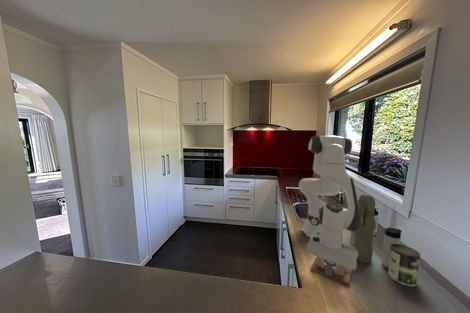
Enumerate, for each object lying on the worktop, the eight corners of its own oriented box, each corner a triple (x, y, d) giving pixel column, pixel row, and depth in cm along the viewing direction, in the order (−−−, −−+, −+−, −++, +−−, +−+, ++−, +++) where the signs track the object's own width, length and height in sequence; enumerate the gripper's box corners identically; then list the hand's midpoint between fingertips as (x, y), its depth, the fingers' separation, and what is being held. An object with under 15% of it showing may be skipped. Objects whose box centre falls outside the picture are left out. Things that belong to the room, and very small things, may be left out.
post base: (318, 255, 103) (320, 235, 102) (352, 268, 93) (354, 246, 93) (310, 270, 91) (312, 247, 90) (348, 286, 81) (350, 261, 80)
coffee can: (420, 282, 85) (424, 252, 84) (411, 289, 80) (414, 258, 79) (393, 268, 94) (396, 241, 93) (383, 274, 89) (386, 246, 88)
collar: (323, 255, 99) (323, 246, 99) (346, 264, 93) (347, 254, 92) (315, 269, 88) (316, 259, 87) (341, 281, 81) (342, 270, 81)
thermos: (349, 259, 101) (355, 196, 98) (354, 250, 109) (359, 192, 107) (369, 267, 95) (375, 200, 92) (373, 257, 103) (379, 195, 100)
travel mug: (401, 272, 92) (405, 232, 90) (386, 269, 93) (389, 231, 92) (393, 264, 98) (396, 227, 96) (379, 262, 99) (382, 225, 98)
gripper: (359, 245, 81) (356, 275, 82) (310, 230, 93) (309, 257, 94) (358, 252, 76) (355, 284, 77) (307, 235, 88) (305, 263, 89)
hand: (329, 269), depth 86 cm, fingers closed on collar, 3 cm apart
